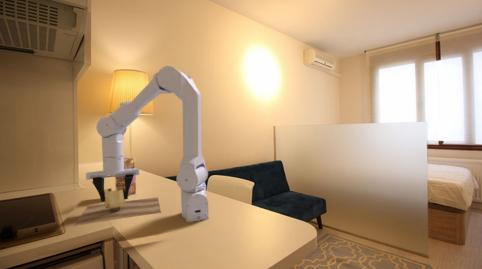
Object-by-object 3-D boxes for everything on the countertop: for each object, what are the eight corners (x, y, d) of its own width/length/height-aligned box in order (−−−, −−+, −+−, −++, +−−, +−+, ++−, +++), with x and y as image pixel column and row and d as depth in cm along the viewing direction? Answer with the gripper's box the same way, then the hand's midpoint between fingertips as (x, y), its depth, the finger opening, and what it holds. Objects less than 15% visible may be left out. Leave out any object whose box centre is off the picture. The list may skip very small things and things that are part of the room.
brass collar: (125, 206, 73) (124, 190, 73) (103, 209, 71) (102, 193, 71) (125, 201, 78) (124, 186, 78) (105, 204, 76) (104, 188, 75)
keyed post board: (161, 217, 72) (160, 195, 72) (74, 230, 64) (73, 206, 63) (158, 201, 88) (157, 183, 87) (88, 210, 79) (87, 191, 79)
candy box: (127, 201, 88) (125, 160, 87) (115, 202, 88) (113, 160, 87) (137, 194, 97) (135, 157, 96) (126, 195, 97) (124, 157, 96)
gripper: (138, 153, 81) (140, 193, 81) (88, 156, 75) (90, 199, 76) (138, 156, 74) (140, 199, 75) (83, 159, 69) (85, 206, 69)
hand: (115, 199), depth 75 cm, fingers closed on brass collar, 6 cm apart
